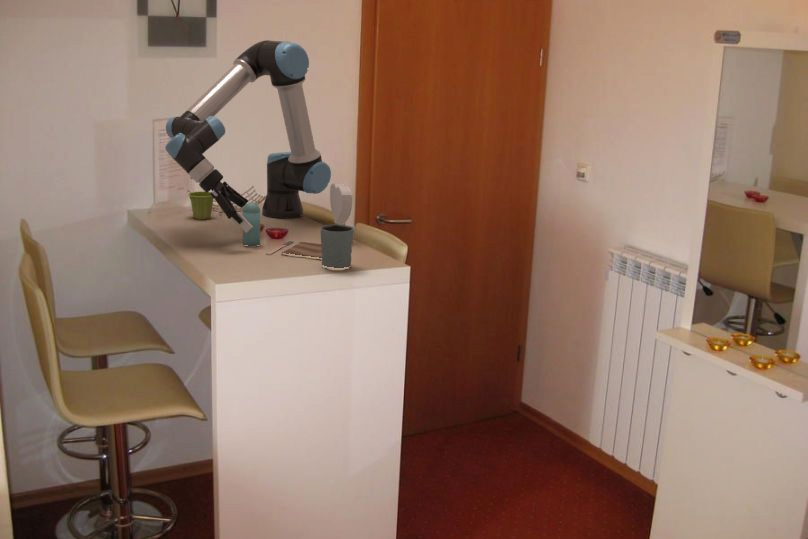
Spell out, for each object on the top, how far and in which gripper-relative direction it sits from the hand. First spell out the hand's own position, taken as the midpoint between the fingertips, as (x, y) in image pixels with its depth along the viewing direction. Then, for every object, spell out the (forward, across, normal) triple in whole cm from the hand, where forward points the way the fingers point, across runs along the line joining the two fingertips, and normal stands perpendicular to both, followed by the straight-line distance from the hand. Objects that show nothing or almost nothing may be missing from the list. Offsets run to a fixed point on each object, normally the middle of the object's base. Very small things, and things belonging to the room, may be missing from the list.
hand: (253, 225), depth 297 cm
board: (+18, +5, +9) cm, 21 cm away
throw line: (+11, +2, +2) cm, 11 cm away
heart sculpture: (+23, -16, +14) cm, 31 cm away
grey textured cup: (+25, +21, +16) cm, 36 cm away
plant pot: (-13, -36, -23) cm, 45 cm away
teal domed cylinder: (+4, 0, -5) cm, 7 cm away
